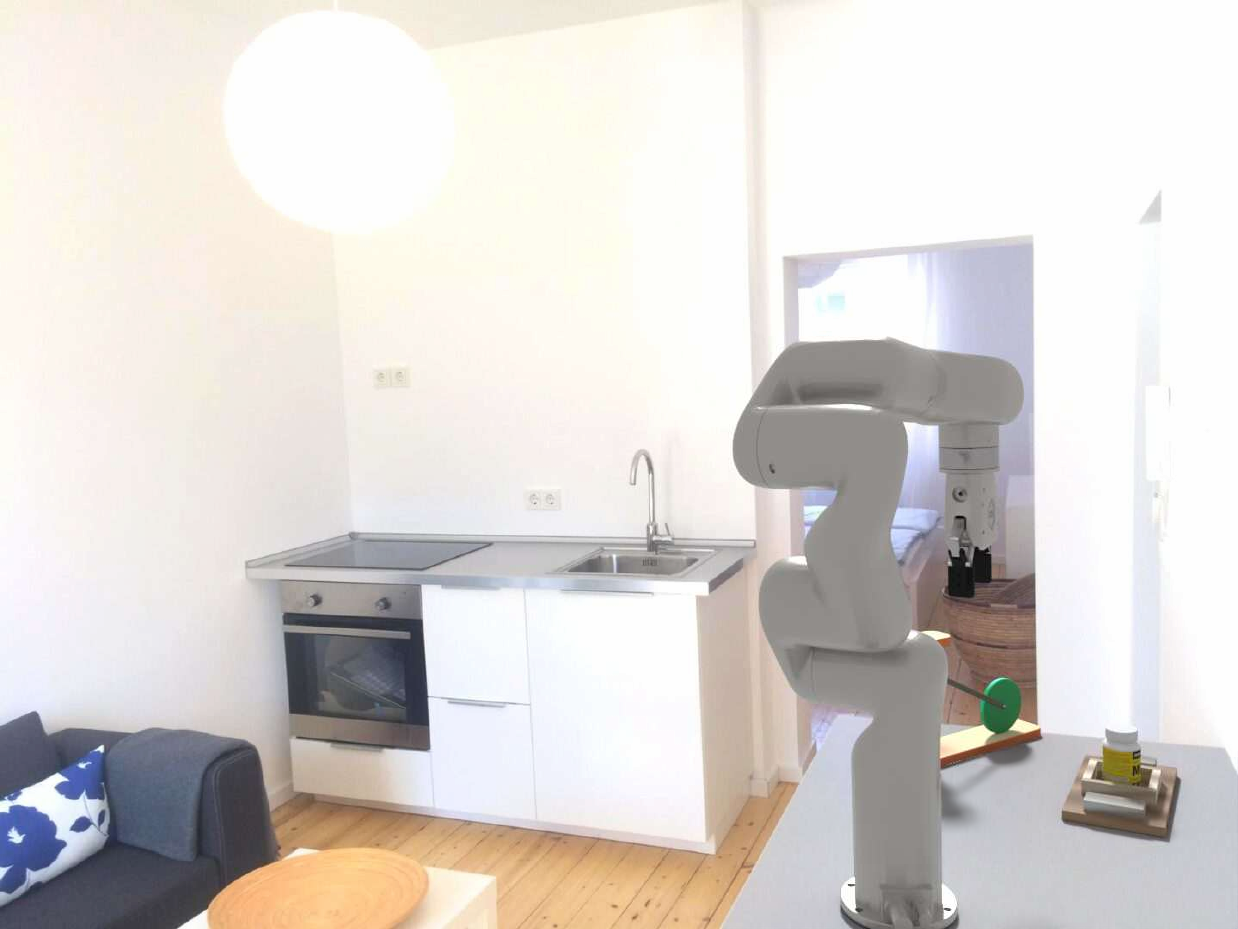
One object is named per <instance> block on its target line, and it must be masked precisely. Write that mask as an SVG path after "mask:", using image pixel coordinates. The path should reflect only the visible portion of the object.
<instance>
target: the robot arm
mask: <svg viewBox="0 0 1238 929" xmlns="http://www.w3.org/2000/svg"><path fill="white" fill-rule="evenodd" d="M1024 398H1025V388H1024V383H1023V379H1022V377H1021V374H1020V373H1019V371H1018V369H1017V368H1016V366H1015V365H1014V364H1012V363H1011V362H1009V361H1007V360H1005V359H1003V358H1000V357H996V356H989V355H984V354H983V355H982V354H974V353H973V354H972V353H964V352H963V353H962V352H956V351H955V352H954V351H951V350H950V351H948V350H944V349H935V348H923V347H920V346H917V345H913V344H910V343H908V342H906V341H903V340H900V339H896V338H894V337H890V336H888V335H881V334H875V333H874V334H871V333H870V334H869V333H867V334H866V333H865V334H864V333H863V334H851V335H849V334H848V335H847V334H846V335H835V336H834V335H833V336H823V337H819V336H818V337H804V338H801V339H797V340H795V341H794V342H792V343H791V344H789V345H788V346H787V347H786V348H784V350H783V351H782V352H780V354H779V355H778V356H777V358H776V359H775V360H774V361H773V362H772V364H771V365H770V367H769V369H767V371H766V373H765V374H764V376H763V378H762V379H761V381H760V383H759V384H758V386H757V388H756V389H755V391H754V393H753V394H752V395H751V397H750V399H749V401H748V402H747V404H746V405H745V407H744V409H743V411H742V412H741V414H740V417H739V418H738V421H737V424H736V427H735V429H734V430H735V431H734V433H733V439H732V458H733V459H732V460H733V464H734V467H735V469H736V470H737V472H738V475H740V476H741V478H742V479H743V480H744V481H745V482H747V483H748V484H751V485H752V486H754V487H758V488H762V489H769V490H797V491H798V490H799V491H804V490H805V491H830V492H831V491H835V492H836V493H835V497H834V498H833V500H832V502H831V503H830V504H829V505H828V506H827V507H826V508H825V509H824V510H823V511H822V512H821V513H820V514H819V515H818V516H817V518H816V519H815V520H814V521H813V523H812V525H811V526H810V528H809V530H808V531H807V534H806V535H805V538H804V541H803V556H802V555H801V556H797V555H796V556H787V557H783V558H781V559H779V560H776V561H775V562H774V563H772V565H771V566H769V568H768V569H767V570H766V572H765V573H764V575H763V577H762V580H761V583H760V586H759V590H758V614H759V620H760V623H761V628H762V631H763V632H764V635H765V638H766V640H767V642H768V644H769V646H770V648H771V651H772V652H773V654H774V657H775V659H776V660H777V663H778V665H779V667H780V669H781V670H782V673H783V675H784V677H785V679H786V681H787V683H788V685H789V686H790V689H792V691H793V692H794V693H795V694H796V695H797V696H798V697H799V698H800V699H802V700H804V701H805V702H808V703H813V704H817V705H822V706H825V707H826V706H827V707H833V708H838V709H839V708H840V709H846V710H851V711H857V712H862V713H865V714H869V715H870V716H872V721H871V723H870V724H869V725H868V726H867V727H866V728H865V729H864V730H863V731H862V732H861V733H860V734H859V735H858V737H857V738H856V739H855V741H854V744H853V746H852V749H851V755H850V757H851V758H850V767H851V768H850V769H851V770H850V771H851V798H852V799H851V800H852V801H851V802H852V804H851V805H852V807H851V808H852V844H853V846H852V848H853V849H852V850H853V877H852V878H850V879H849V880H847V881H846V882H845V883H844V884H843V885H842V887H841V889H840V895H839V896H840V905H841V908H842V910H843V911H844V913H845V914H846V915H847V916H848V917H849V918H850V919H852V920H853V921H855V923H858V924H860V925H861V926H863V927H865V928H868V929H946V928H947V927H949V926H950V925H951V924H953V923H954V921H956V919H957V917H958V913H959V912H958V900H957V897H956V896H955V894H954V893H953V892H952V890H950V889H949V888H948V887H947V886H946V885H944V884H943V844H942V843H943V842H942V839H943V838H942V836H943V835H942V792H941V791H942V785H941V782H942V781H941V780H942V779H941V778H942V777H941V767H940V738H941V737H942V736H941V733H942V722H943V721H942V720H943V712H944V704H945V697H946V691H947V685H948V684H947V678H949V677H948V676H949V661H948V660H949V659H948V656H947V653H946V650H945V648H944V647H942V646H941V644H940V643H939V642H938V641H937V640H935V639H934V638H932V637H931V636H929V635H927V634H925V633H922V632H923V631H918V630H915V629H913V624H914V614H913V606H912V601H911V597H910V595H909V591H908V588H907V586H906V583H905V579H904V577H903V574H902V571H901V568H900V566H899V562H898V559H897V556H896V553H895V550H894V546H893V543H892V538H891V536H892V534H891V533H892V528H893V523H894V520H895V516H896V513H897V510H898V506H899V502H900V500H901V496H902V495H901V494H902V489H903V485H904V479H905V475H906V470H907V463H908V459H909V458H908V455H909V441H908V432H907V429H906V426H905V424H904V423H911V424H912V423H913V424H914V423H915V424H918V425H920V426H921V425H922V426H935V427H936V426H937V427H938V430H937V431H938V472H939V473H942V474H945V475H946V476H945V488H944V536H945V537H944V538H945V544H946V546H947V547H948V548H949V549H948V550H947V555H948V558H947V587H948V588H947V592H948V596H949V597H953V598H966V599H973V598H974V597H975V596H976V593H975V592H976V588H975V587H976V584H975V583H979V584H990V583H991V582H992V581H993V578H992V575H993V574H992V573H993V571H992V570H993V569H992V568H993V567H992V566H993V565H992V564H993V563H992V557H993V556H992V545H993V544H994V543H995V542H997V540H999V536H1000V534H999V518H998V516H999V515H998V498H997V485H996V477H995V473H998V472H1000V426H1005V425H1009V424H1011V423H1012V422H1014V420H1016V419H1017V418H1018V416H1019V414H1020V413H1021V412H1022V411H1021V410H1022V408H1023V404H1024Z"/></svg>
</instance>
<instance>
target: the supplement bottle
mask: <svg viewBox="0 0 1238 929" xmlns="http://www.w3.org/2000/svg"><path fill="white" fill-rule="evenodd" d="M1138 731H1139V730H1138V728H1137V727H1136V726H1133V725H1130V724H1126V723H1109V724H1107V725H1105V729H1104V733H1105V735H1104V736H1105V739H1103V740H1102V752H1103V781H1109V782H1115V783H1122V784H1128V785H1134V786H1141V755H1142V753H1141V750H1142V749H1141V748H1142V747H1141V745H1140V742H1138V739H1139V732H1138Z"/></svg>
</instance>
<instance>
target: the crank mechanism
mask: <svg viewBox="0 0 1238 929" xmlns="http://www.w3.org/2000/svg"><path fill="white" fill-rule="evenodd" d="M921 632H922V633H925V634H927V635H929V636H931V637H932V638H934V639H935V640H937V641H938V642H939V643H940V644H941V646H942V647H943V648H945V647H946V648H947V647H949V646H950V645H951V642H952V641H951V635H950V634H949V633H945V632H942V631H937V630H924V631H921ZM947 685H949V686H951V687H954V688H956V689H958V690H960V691H963V692H965V693H967V694H969V695H970V696H973V697H975V698H978V699H979V700H980V704H979V706H980V707H979V713H980V714H979V715H980V719H981V722H982V725H978V726H974V727H971V728H968V729H963V730H960V731H958V732H953V733H950V734H947V735H943V736H941V738H940V768H942V766H943V767H946V766H948V765H947V764H949V765H951V764H950V763H953V762H956V761H959V760H962V761H965V759H966V760H968V759H967V758H969V759H971V758H970V757H972V758H975V757H974V756H976V757H978V756H977V755H979V754H982V755H985V754H988V753H991V752H995V751H998V750H1001V749H1005V748H1008V747H1012V746H1015V745H1018V744H1021V743H1024V742H1028V741H1031V740H1034V739H1038V738H1041V737H1042V736H1041V735H1042V734H1041V733H1042V729H1041V727H1040V726H1039V725H1037V724H1034V723H1031V722H1028V721H1025V720H1023V719H1020V718H1019V715H1020V713H1021V709H1022V695H1021V692H1020V688H1019V687H1018V685H1017V684H1016V682H1015V681H1014V680H1012V679H1009V678H1005V677H1000V678H996V679H994V680H993V681H991V682H990V683H989V684H988V685H987V687H986V688H985V690H984V692H983V693H981V692H979V691H977V690H976V689H973V688H971V687H968V686H966V685H964V684H962V683H960V682H959V681H956V680H954V679H952V678H949V677H948V678H947ZM979 756H980V755H979ZM959 762H960V761H959ZM956 763H957V762H956ZM953 764H954V763H953ZM945 765H946V766H945Z"/></svg>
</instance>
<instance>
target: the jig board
mask: <svg viewBox="0 0 1238 929" xmlns="http://www.w3.org/2000/svg"><path fill="white" fill-rule="evenodd" d="M1177 778H1178V767H1175V766H1174V767H1173V766H1168V765H1167V766H1166V765H1160V764H1158V757H1157V756H1152V755H1146V754H1145V755H1144V754H1141V786H1134V785H1128V784H1122V783H1115V782H1109V781H1103V751H1102V752H1101V754H1100V756H1098V755H1092V754H1085V756H1084V758H1083V760H1082V763H1081V765H1080V767H1079V769H1078V772H1077V774H1076V777H1075V779H1074V781H1073V783H1072V785H1071V788H1070V791H1069V793H1068V795H1067V796H1066V800H1065V802H1064V804H1063V807H1062V808H1061V820H1064V821H1071V822H1075V823H1082V824H1087V825H1092V826H1097V827H1102V828H1109V829H1115V830H1120V831H1121V830H1122V831H1126V832H1133V833H1137V834H1138V833H1139V834H1144V835H1148V834H1149V836H1154V837H1155V836H1156V837H1161V838H1165V837H1166V835H1167V834H1166V833H1167V829H1168V824H1169V818H1170V814H1171V808H1172V804H1173V798H1174V794H1175V787H1176V783H1177Z"/></svg>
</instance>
